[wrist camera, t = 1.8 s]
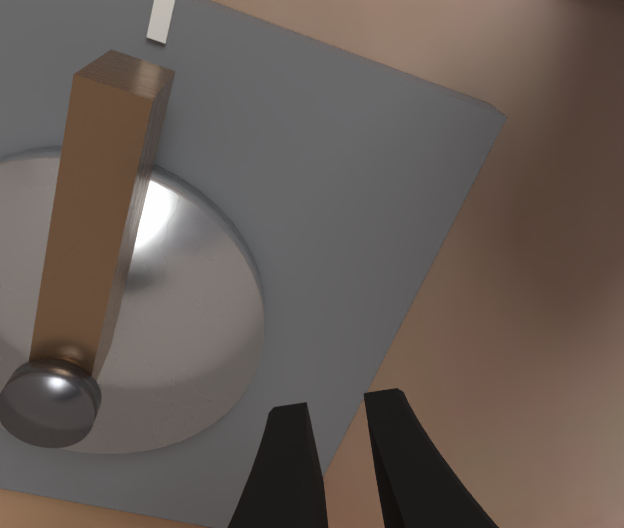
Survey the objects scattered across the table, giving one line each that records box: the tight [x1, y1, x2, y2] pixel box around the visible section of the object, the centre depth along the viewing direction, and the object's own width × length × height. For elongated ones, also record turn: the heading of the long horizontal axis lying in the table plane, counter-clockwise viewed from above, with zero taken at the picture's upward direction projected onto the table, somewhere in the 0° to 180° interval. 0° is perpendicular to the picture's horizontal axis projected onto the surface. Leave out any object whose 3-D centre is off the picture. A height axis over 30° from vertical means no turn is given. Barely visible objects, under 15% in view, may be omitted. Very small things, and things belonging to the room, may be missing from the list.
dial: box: [0, 49, 265, 454], centre depth 17 cm, size 14×11×5 cm
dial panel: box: [0, 0, 507, 528], centre depth 20 cm, size 20×20×2 cm
